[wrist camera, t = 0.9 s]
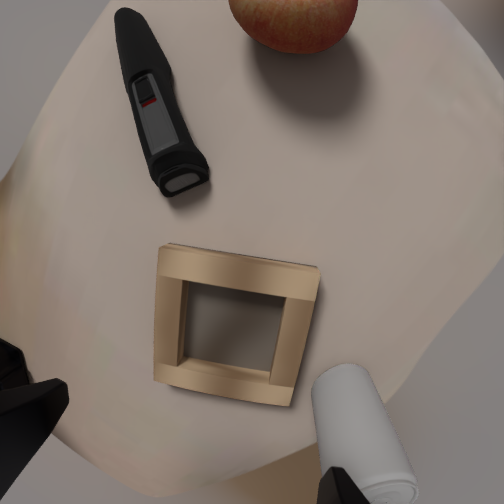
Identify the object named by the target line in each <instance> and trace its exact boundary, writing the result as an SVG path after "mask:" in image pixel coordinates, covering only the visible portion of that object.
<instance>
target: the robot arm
mask: <svg viewBox="0 0 504 504" xmlns="http://www.w3.org/2000/svg"><path fill="white" fill-rule="evenodd" d="M68 404H69V394H68V386H67V384H66V383H65V382H64V381H62V380H60V379H58V378H54V379H50V380H46V381H42V382H38V383H34V384H30V385H29V383H28V379H27V375H26V371H25V366H24V362H23V357H22V353H21V351H20V349H19V348H17V347H15V346H13V345H12V344H10V343H8V342H6V341H4V340H2V339H1V338H0V500H1V499H2V497H3V496H4V495H5V493H6V492H7V491H8V489H9V488H10V486H11V485H12V484H13V482H14V481H15V480H16V478H17V477H18V476H19V474H20V473H21V472H22V470H23V469H24V468H25V466H26V465H27V464H28V462H29V461H30V460H31V458H32V457H33V456H34V455H35V453H36V452H37V451H38V449H39V448H40V447H41V446H42V444H43V443H44V442H45V440H46V439H47V438H48V437H49V435H50V434H51V432H52V431H53V429H54V427H55V426H56V424H57V422H58V421H59V419H60V417H61V416H62V414H63V413H64V411H65V409H66V408H67V406H68ZM317 504H371V503H370V502H369V501H368V500H367V498H366V497H365V496H364V494H363V493H362V492H361V490H360V489H359V488H358V487H357V485H356V484H355V483H354V481H353V480H352V479H351V477H350V476H349V475H348V473H347V472H346V470H345V469H344V468H343V467H337V466H331V467H330V468H329V469H328V470H327V471H326V473H325V474H324V476H323V477H322V478H321V480H320V483H319V489H318V498H317Z"/></svg>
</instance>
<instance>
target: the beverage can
mask: <svg viewBox="0 0 504 504" xmlns="http://www.w3.org/2000/svg"><path fill="white" fill-rule="evenodd" d="M311 397H312V404H313V411H314V418H315V426H316V433H317V440H318V448H319V456H320V464H321V472H322V477H323V476H324V474H325V473H326V471H327V470H328V469H329V468H330V467H331V466H337V467H343V468H344V469H345V470H346V472H347V473H348V475H349V476H350V477H351V479H352V480H353V481H354V483H355V484H356V485H357V487H358V488H359V489H360V490H361V492H362V493H363V494H364V496H365V497H366V498H367V500H368V501H369V502H370V503H371V504H413V503H414V502H415V501H416V499H417V497H418V493H419V490H418V488H417V478H416V475H415V473H414V470H413V468H412V466H411V463H410V461H409V459H408V456H407V454H406V452H405V450H404V447H403V445H402V443H401V441H400V439H399V436H398V434H397V432H396V430H395V428H394V426H393V424H392V422H391V419H390V417H389V415H388V413H387V411H386V408H385V406H384V404H383V402H382V400H381V398H380V395H379V393H378V391H377V389H376V387H375V385H374V383H373V381H372V379H371V377H370V374H369V372H368V371H367V370H366V369H364V368H363V367H361V366H359V365H356V364H341V365H337V366H335V367H332V368H331V369H329V370H327V371H325V372H324V373H323V374H322V375H320V376H319V377H318V379H317V380H316V381H315V382H314V384H313V387H312V391H311Z"/></svg>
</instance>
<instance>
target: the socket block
mask: <svg viewBox="0 0 504 504" xmlns="http://www.w3.org/2000/svg"><path fill="white" fill-rule="evenodd" d="M320 275H321V273H320V272H319V270H318V268H317V267H316V266H310V265H304V264H297V263H291V262H285V261H278V260H272V259H266V258H259V257H253V256H247V255H241V254H234V253H228V252H222V251H216V250H209V249H203V248H197V247H191V246H185V245H178V244H172V243H168V244H166V245H164V246H161V247H159V252H158V264H157V278H156V295H155V318H154V381H157V382H161V383H165V384H169V385H173V386H177V387H181V388H185V389H189V390H194V391H198V392H203V393H208V394H213V395H218V396H223V397H228V398H234V399H239V400H245V401H252V402H258V403H265V404H273V405H281V406H289V404H290V401H291V397H292V394H293V390H294V386H295V382H296V379H297V375H298V371H299V367H300V363H301V359H302V355H303V351H304V347H305V343H306V339H307V335H308V330H309V326H310V322H311V317H312V313H313V308H314V304H315V299H316V294H317V289H318V285H319V280H320Z"/></svg>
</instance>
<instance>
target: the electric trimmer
mask: <svg viewBox="0 0 504 504" xmlns="http://www.w3.org/2000/svg"><path fill="white" fill-rule="evenodd" d="M114 22H115V33H116V42H117V48H118V53H119V59H120V64H121V69H122V74H123V79H124V84H125V88H126V92H127V94H128V96H129V100H130V103H131V107H132V111H133V115H134V119H135V123H136V127H137V131H138V135H139V139H140V142H141V146H142V149H143V153H144V156H145V159H146V162H147V165H148V169H149V173H150V176H151V178H152V180H153V181H154V183H155V184H156V185H157V186H158V187H159V189H160V191H161V193H162V194H163V195H164V196H166V197H173V196H175V195H177V194H179V193H182V192H184V191H186V190H189V189H191V188H193V187H196V186H198V185H200V184H203V183H205V182H207V181H208V180H209V177H208V174H207V171H208V169H209V167H208V164H207V161H206V159H205V157H204V155H203V154H202V153H201V152H200V151H199V150H198V149H197V147H196V146H195V145H194V143H193V141H192V138H191V136H190V134H189V132H188V129H187V127H186V125H185V122H184V120H183V118H182V115H181V113H180V110H179V108H178V105H177V103H176V100H175V97H174V94H173V90H172V87H171V83H170V74H171V68H170V65H169V63H168V61H167V59H166V57H165V55H164V53H163V51H162V49H161V48H160V46H159V44H158V42H157V40H156V38H155V36H154V35H153V33H152V31H151V29H150V27H149V25H148V23H147V22H146V20H145V19H144V17H143V16H142V15H141V14H140V13H138V12H136V11H134V10H132V9H130V8H126V7H124V8H120V9H119V10H118V11H117V12H116V13H115V16H114ZM155 87H156V88H155Z"/></svg>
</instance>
